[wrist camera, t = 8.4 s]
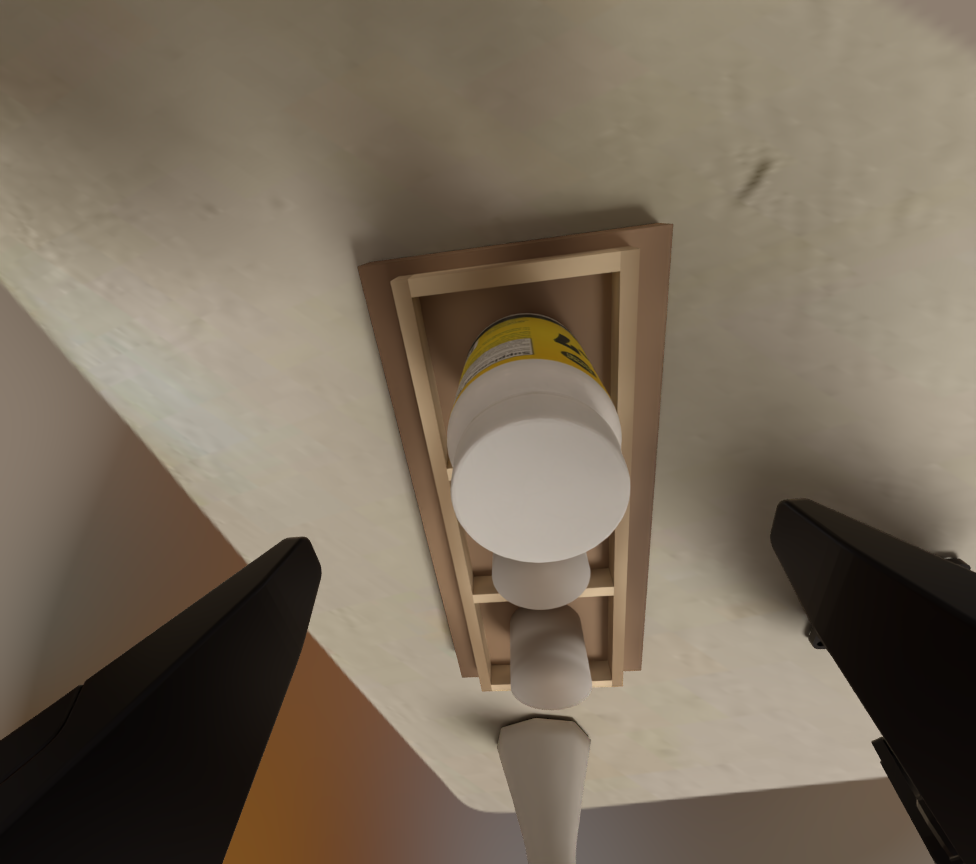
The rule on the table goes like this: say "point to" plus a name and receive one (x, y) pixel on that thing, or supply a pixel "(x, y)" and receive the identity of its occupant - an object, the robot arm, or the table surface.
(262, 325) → the table surface
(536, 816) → the flask
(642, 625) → the socket tray
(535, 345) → the supplement bottle
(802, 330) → the table surface
